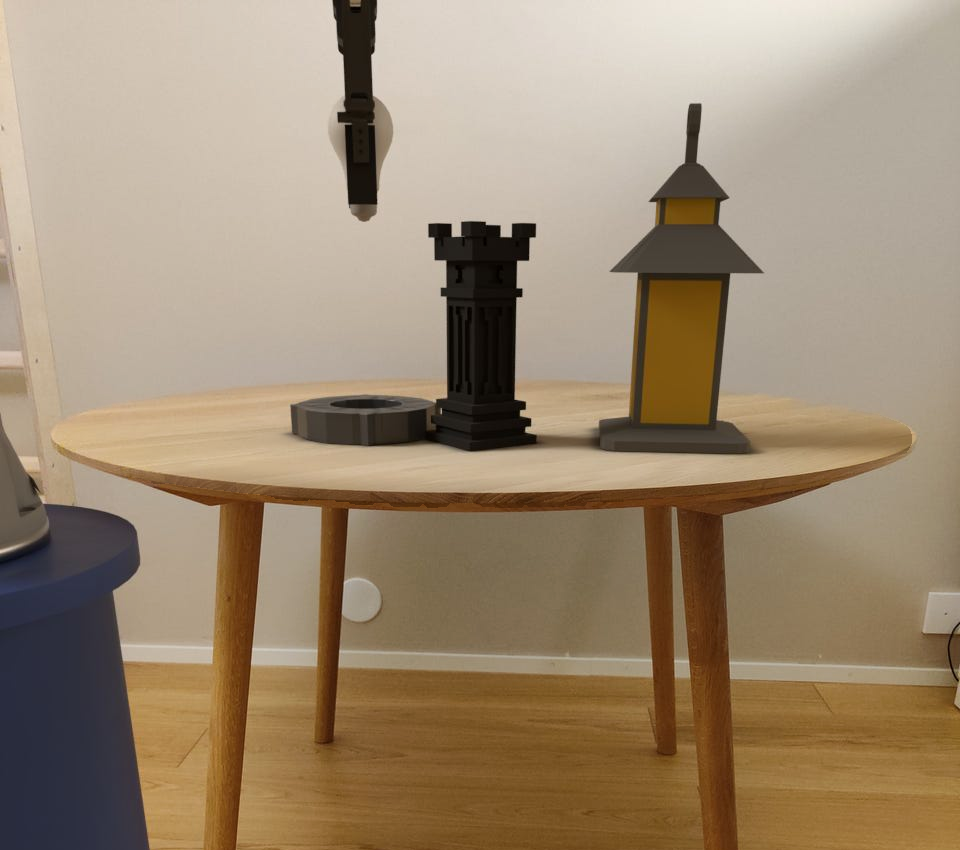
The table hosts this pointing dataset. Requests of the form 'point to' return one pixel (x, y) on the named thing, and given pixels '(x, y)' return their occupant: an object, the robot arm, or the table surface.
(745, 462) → the table surface
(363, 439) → the hole plate
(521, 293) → the chess piece
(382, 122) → the lightbulb
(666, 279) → the lantern
